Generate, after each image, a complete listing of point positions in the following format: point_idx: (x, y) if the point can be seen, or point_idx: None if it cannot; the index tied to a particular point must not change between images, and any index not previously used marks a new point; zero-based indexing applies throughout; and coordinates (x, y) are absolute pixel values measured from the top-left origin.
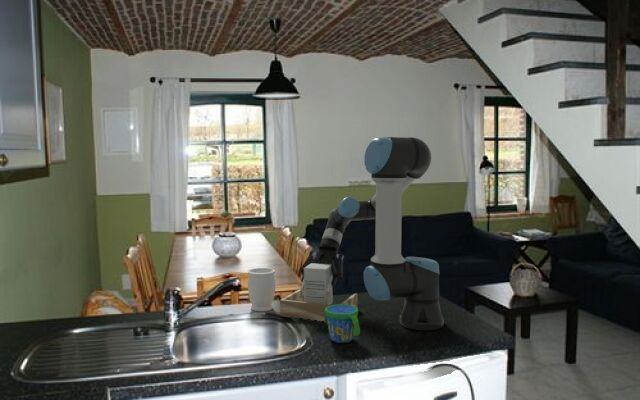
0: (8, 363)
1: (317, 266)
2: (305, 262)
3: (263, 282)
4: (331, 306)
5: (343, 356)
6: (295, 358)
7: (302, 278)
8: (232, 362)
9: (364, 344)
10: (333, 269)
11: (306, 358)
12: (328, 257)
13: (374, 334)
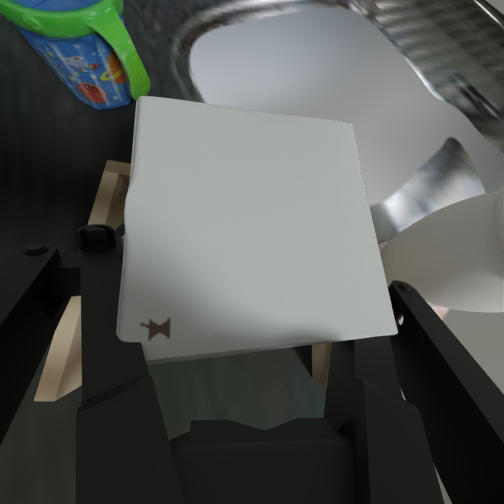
0: (498, 12)
1: (261, 179)
2: (463, 356)
3: (467, 200)
4: (98, 1)
5: None
6: (185, 10)
7: None
8: (279, 2)
9: (38, 67)
10: (100, 284)
11: (164, 9)
12: (162, 493)
13: (6, 129)
